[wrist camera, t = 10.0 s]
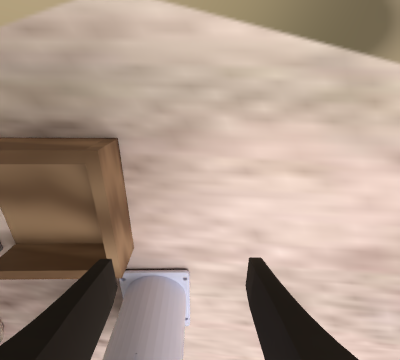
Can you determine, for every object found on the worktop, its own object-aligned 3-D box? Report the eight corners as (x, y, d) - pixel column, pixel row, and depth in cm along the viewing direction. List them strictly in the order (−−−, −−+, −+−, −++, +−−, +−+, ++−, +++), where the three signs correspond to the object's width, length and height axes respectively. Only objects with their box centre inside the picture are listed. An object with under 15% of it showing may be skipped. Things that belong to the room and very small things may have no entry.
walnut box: (133, 248, 23) (122, 278, 19) (22, 248, 23) (-12, 279, 19) (117, 138, 18) (97, 150, 14) (-25, 137, 18) (-82, 150, 14)
